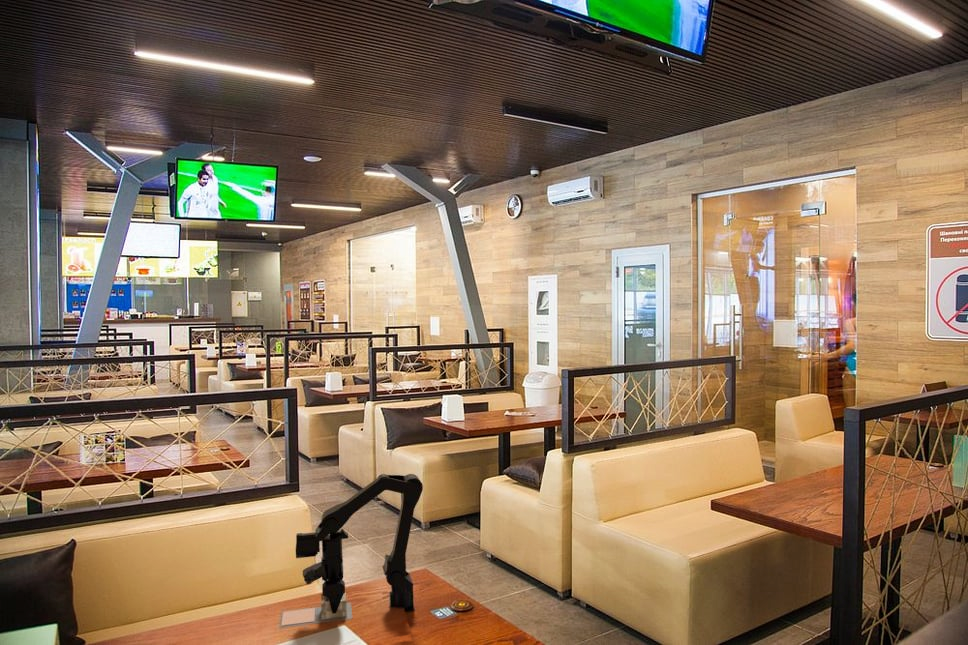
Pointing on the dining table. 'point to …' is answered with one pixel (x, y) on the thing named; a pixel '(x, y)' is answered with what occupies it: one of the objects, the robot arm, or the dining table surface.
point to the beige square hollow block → (327, 608)
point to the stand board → (308, 616)
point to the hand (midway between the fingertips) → (334, 607)
